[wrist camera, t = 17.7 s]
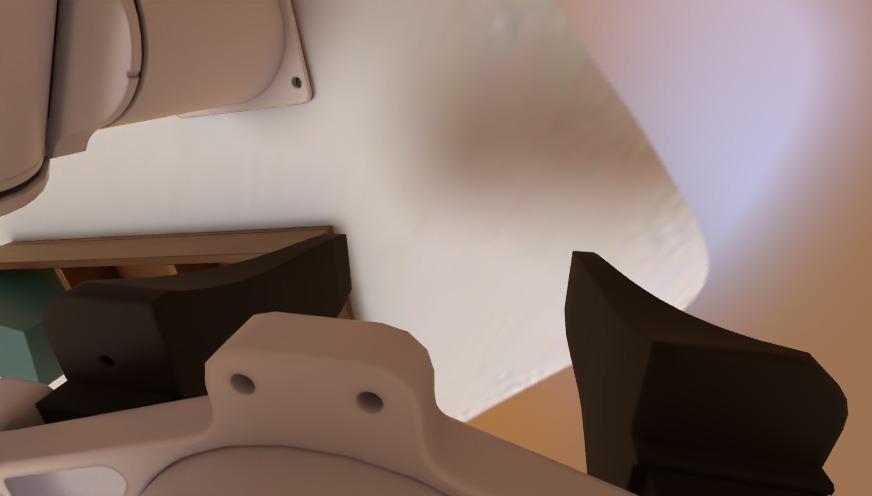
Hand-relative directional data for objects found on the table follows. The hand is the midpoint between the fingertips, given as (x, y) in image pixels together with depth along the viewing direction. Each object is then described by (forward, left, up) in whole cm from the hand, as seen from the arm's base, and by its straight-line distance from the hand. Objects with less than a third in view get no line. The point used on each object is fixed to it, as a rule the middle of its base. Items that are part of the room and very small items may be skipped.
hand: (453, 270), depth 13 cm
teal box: (+6, -29, -9) cm, 31 cm away
